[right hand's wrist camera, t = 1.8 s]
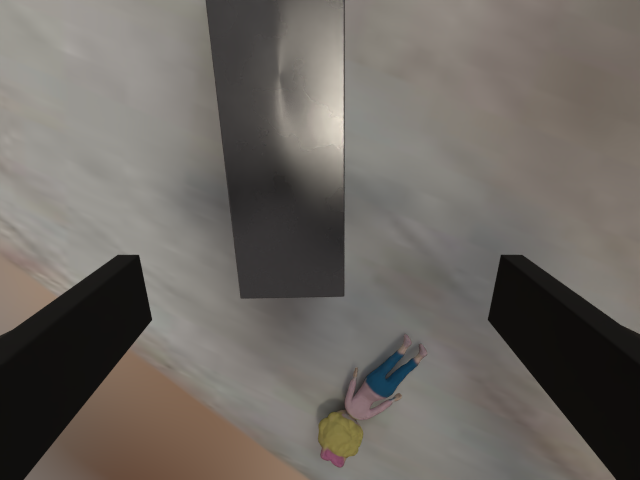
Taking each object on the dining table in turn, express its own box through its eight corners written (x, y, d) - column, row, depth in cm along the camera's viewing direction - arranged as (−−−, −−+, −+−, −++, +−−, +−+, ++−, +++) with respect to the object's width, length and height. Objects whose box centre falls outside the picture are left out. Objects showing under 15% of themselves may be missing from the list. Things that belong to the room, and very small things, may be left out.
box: (336, 231, 31) (344, 296, 20) (269, 233, 31) (240, 298, 20) (333, -101, 23) (344, -300, 12) (242, -98, 23) (171, -293, 12)
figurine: (389, 319, 35) (304, 418, 38) (400, 345, 30) (303, 453, 34) (433, 347, 36) (347, 441, 39) (449, 376, 32) (351, 478, 35)
